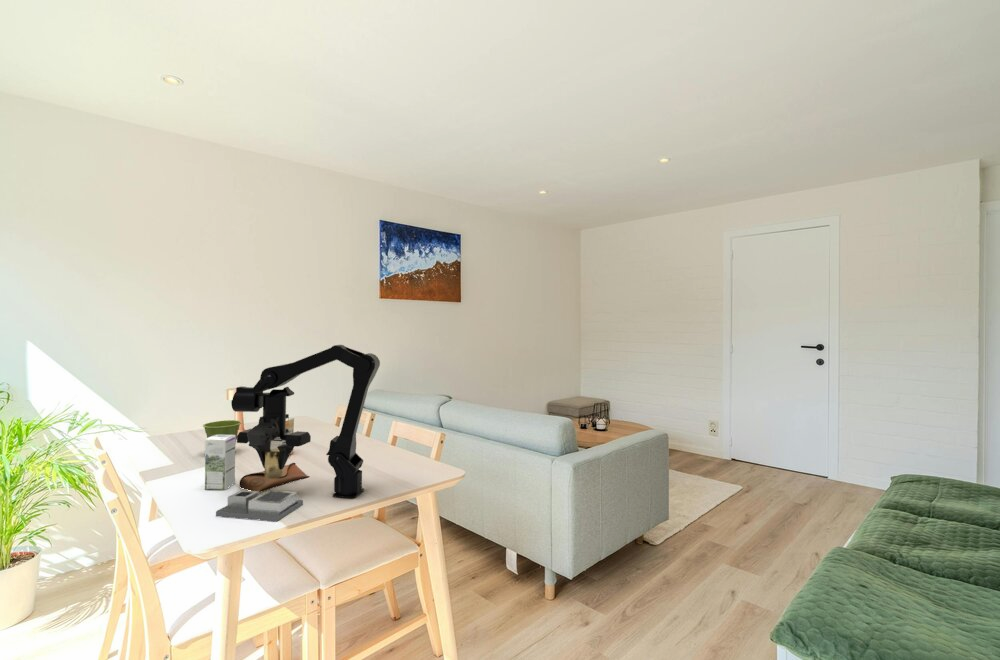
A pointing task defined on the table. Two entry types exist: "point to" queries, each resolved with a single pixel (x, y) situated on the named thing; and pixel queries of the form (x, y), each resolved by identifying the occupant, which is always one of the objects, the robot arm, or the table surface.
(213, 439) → the syrup box
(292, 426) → the supplement box
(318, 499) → the table surface
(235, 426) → the plant pot
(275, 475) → the brass fitting
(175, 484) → the table surface
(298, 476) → the sunglasses case
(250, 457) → the table surface
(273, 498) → the grey fixture block
